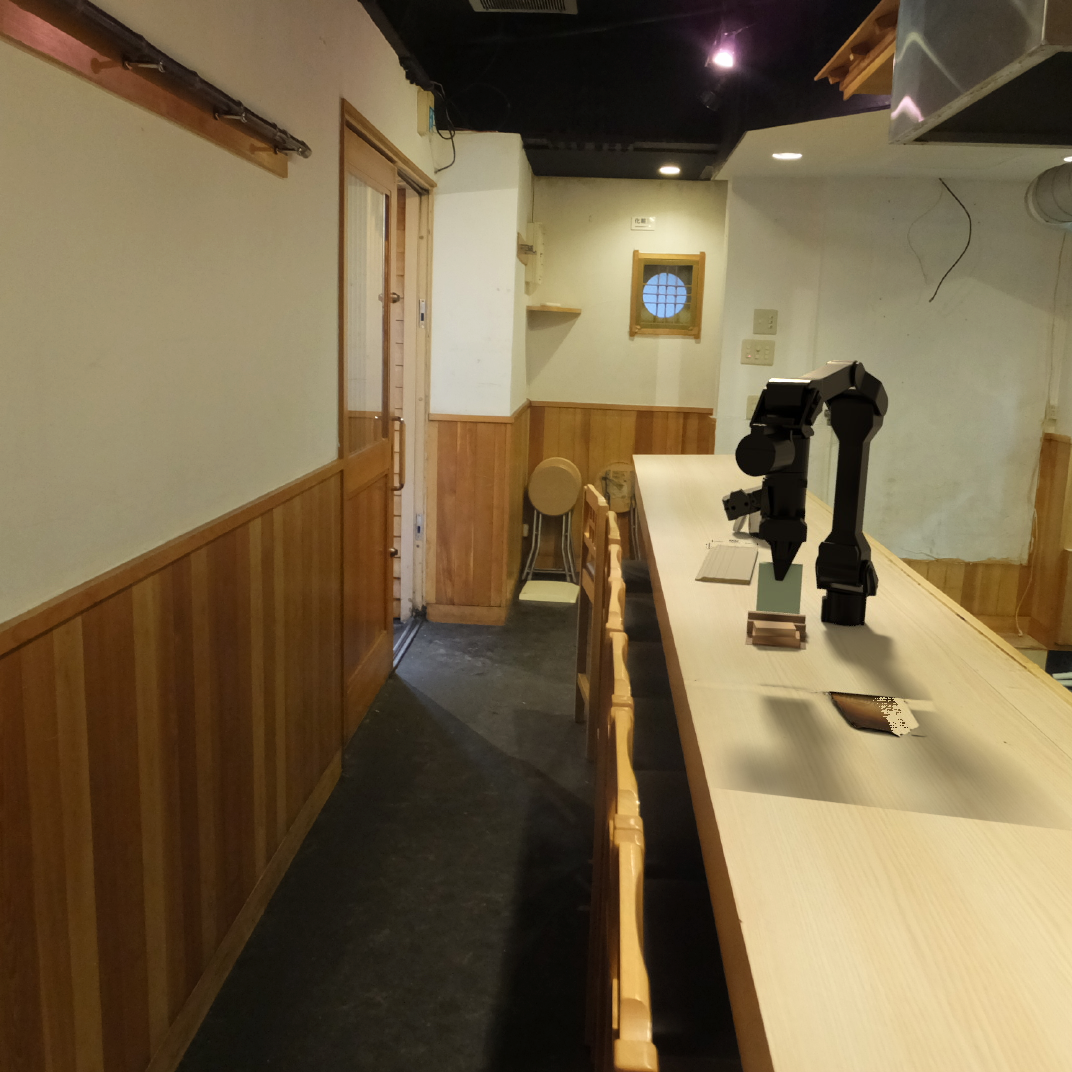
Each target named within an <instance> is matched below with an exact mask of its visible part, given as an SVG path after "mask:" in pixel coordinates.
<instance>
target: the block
mask: <svg viewBox="0 0 1072 1072" xmlns="http://www.w3.org/2000/svg"><path fill="white" fill-rule="evenodd" d="M803 568H804V564H803V563H792V564H791V566H790V568H789V570H788V572H787V574H786V576H785V578H784V580H783V581H776V580H775V576H774V569H773V562H772V561H761V560H760V561H758V572H757V574H758V576H757V592H756V607H755V608H756V609H755V611H759V612H772V613H786V614H799V615H801V611H800V610H801V601H802V600H801V599H802V598H801V597H802V586H803V585H802V584H803Z"/></svg>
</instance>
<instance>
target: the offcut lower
mask: <svg viewBox="0 0 1072 1072" xmlns="http://www.w3.org/2000/svg"><path fill="white" fill-rule="evenodd" d="M752 643H758V644H770V645H782V646H794V647H799V643H800V635H799V631H796V637H785V636H761V635H755V632H754V630H753V636H752Z"/></svg>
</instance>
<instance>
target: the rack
mask: <svg viewBox="0 0 1072 1072" xmlns="http://www.w3.org/2000/svg"><path fill="white" fill-rule="evenodd" d="M806 618H807V617H806V614H790V613H777V612H764V611H756V610H748V611H747V618H746V620H747V621H746V635H745V644H744V645H747V646H760V647H761V646H762V647H770V648H771V647H773V648H784V649H794V650H795V649H796V650H797V649H798V650H807V644H806V633H807V632H806V629H807V623H806ZM754 621H765V622H790V623H793V624H794V626H795V628H796V631H799V635H800V643H799V647H794V646H782V645H770V644H758V643H752V636H753V622H754Z"/></svg>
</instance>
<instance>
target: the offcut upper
mask: <svg viewBox="0 0 1072 1072" xmlns="http://www.w3.org/2000/svg"><path fill="white" fill-rule="evenodd" d="M753 630H754V632H755V635H761V636H785V637H796V628H795V626H794V624H793V623H790V622H765V621H754V622H753Z"/></svg>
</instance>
